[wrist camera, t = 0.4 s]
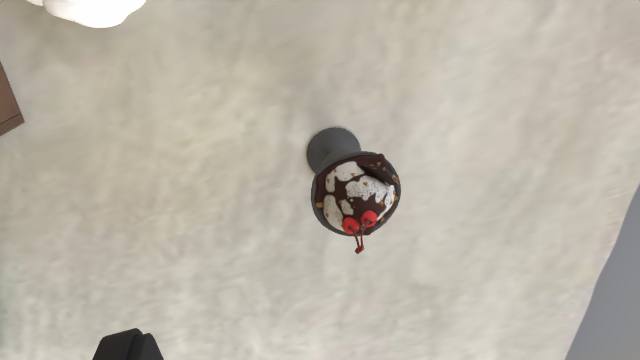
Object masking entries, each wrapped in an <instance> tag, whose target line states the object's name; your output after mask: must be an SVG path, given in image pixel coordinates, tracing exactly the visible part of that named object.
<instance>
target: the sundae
mask: <svg viewBox="0 0 640 360" xmlns="http://www.w3.org/2000/svg"><path fill="white" fill-rule="evenodd" d="M307 158H308V163H309V166H310V167H311V169H312V170H313V171H314V172H315V174H316V175H315V177H314V180H313V183H312V189H311V202H312V207H313V211H314V214H315V216H316V217H317V219H318V220H319V221H320V223H321V224H322V225H323V226H325V227H326V228H328V229H329V230H331V231H333V232H335V233H338V234H340V235H345V236H355V238H356V241H357V246H358V248H356V250H355V252H356V253H357V254H359V253H360V252H361V251H362V250H364V246H363V240H362V235H370V234H371V233H372V232H374V231H375V230H377V229H378V228H380V227H381V226H382V225H383V224H385V223H386V221H387V220H388V219H389V218H390V217H391V215H392V214H393V212H394V211H395V209H396V208H397V206H398V203H399V200H400V195H401V186H400V181H399V177H398V175H397V173H396V171H395V169H394V168H393V166H392V165H391V163H390V162H389V161H387V160H386V159H385V157H384V155H383V154H376V153H373V152H366V151H361V150H360V145H359V142H358V140H357V139H356V137H355V136H354V135H353V134H352V133H350V132H349V131H347V130H345V129H341V128H330V129H326V130H323V131H322V132H320V133H319V134H317V135H316V136H315V137H314V138H313V140H312V141H311V143H310V145H309V147H308V152H307ZM357 236H361V246H360V245H359V242H358V238H357Z"/></svg>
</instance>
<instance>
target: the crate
mask: <svg viewBox="0 0 640 360" xmlns="http://www.w3.org/2000/svg"><path fill="white" fill-rule="evenodd" d="M20 113H21V111H20V109H19V107H18V104H17V102H16V99H15V97H14V94H13V92H12V89H11V87H10V84H9V82H8V79H7V77H6V74H5V72H4V69H3V67H2V65H1V62H0V136H1V135H3V134H5V133H7V132H9V131H10V130H12V129H14V128H16V127H17V126H19V125H21V124H23V123H24V119H23V116H22V114H20Z"/></svg>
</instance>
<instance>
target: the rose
mask: <svg viewBox="0 0 640 360" xmlns="http://www.w3.org/2000/svg"><path fill="white" fill-rule="evenodd" d="M27 1H29V2H30V3H32V4H35V5H41V6H45V8H46V10H47V11H48V12H49V13H51V14H52V15H54V16H56V17H59V18H63V19H66V20H70V21H74V22H77V23H79V24H81V25H84V26H87V27H93V28H107V27H113V26H116V25H118V24H120V23H122V22H123V21H124V20H125V18H126V17H127V16H128V15H129V14H130V13H132V12H134V11H135V10H137V9H138V8H140V7H141V6H142V5H143V4H144V3H145V1H146V0H27Z"/></svg>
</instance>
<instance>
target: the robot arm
mask: <svg viewBox="0 0 640 360" xmlns="http://www.w3.org/2000/svg"><path fill="white" fill-rule="evenodd" d="M93 360H164V359H163V357H162V355H161V353H160V350H159V348H158V346H157V343H156V341H155V339H154V337H153V336H152V335H151V334H150V333H147V334H144V335H143V334H142V332H141V331H140V330H139V329H137V328H134V329H131V330H127V331H123V332H119V333H116V334H112V335H108V336H105V337H103V338H102V340H101V341H100V343H99V346H98V348H97V350H96V353H95V355H94V357H93Z"/></svg>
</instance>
